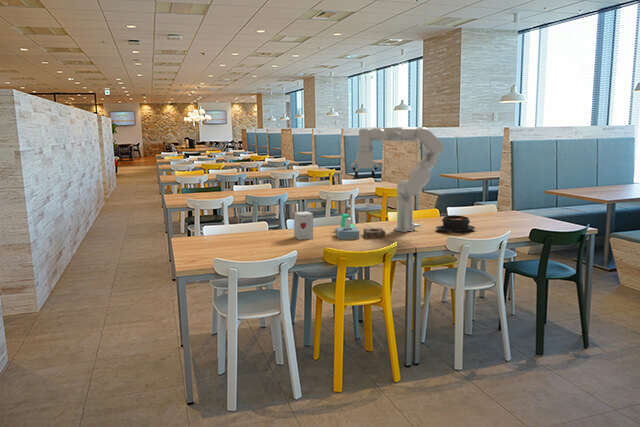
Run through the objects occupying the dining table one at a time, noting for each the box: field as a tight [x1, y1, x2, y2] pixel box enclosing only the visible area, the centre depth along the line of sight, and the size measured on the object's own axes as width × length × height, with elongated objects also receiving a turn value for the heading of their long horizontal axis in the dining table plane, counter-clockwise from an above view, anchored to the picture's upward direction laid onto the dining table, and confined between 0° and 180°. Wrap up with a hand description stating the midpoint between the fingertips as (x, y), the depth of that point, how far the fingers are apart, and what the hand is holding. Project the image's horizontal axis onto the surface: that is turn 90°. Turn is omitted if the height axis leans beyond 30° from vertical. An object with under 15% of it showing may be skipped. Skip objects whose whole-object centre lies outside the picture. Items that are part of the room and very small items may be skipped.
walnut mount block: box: [363, 227, 386, 239], centre depth 289 cm, size 11×11×4 cm
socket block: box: [335, 226, 360, 240], centre depth 288 cm, size 12×12×4 cm
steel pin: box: [345, 217, 352, 230], centre depth 287 cm, size 3×3×11 cm
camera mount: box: [340, 213, 356, 227], centre depth 306 cm, size 12×8×10 cm, turn 8°
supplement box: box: [293, 211, 314, 241], centre depth 285 cm, size 9×9×15 cm
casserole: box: [435, 214, 476, 233], centre depth 302 cm, size 25×19×8 cm
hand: (364, 178), depth 295 cm, fingers open, 9 cm apart
